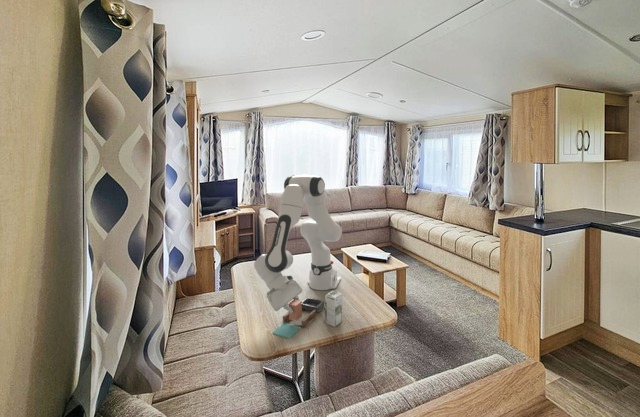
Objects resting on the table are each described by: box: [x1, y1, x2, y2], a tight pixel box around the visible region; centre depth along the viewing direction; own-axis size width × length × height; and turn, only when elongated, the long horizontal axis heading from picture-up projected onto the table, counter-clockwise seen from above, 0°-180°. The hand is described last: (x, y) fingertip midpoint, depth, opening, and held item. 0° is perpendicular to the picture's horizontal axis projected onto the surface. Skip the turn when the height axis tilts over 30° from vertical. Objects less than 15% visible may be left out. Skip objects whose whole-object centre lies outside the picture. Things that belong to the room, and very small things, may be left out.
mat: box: [271, 322, 302, 340], centre depth 138 cm, size 9×9×1 cm
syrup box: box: [324, 290, 343, 328], centre depth 143 cm, size 6×6×14 cm
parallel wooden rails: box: [282, 310, 317, 329], centre depth 148 cm, size 12×11×3 cm
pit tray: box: [301, 296, 325, 314], centre depth 159 cm, size 8×10×3 cm
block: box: [288, 299, 303, 322], centre depth 144 cm, size 5×4×8 cm
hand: (296, 309), depth 144 cm, fingers closed on block, 5 cm apart
